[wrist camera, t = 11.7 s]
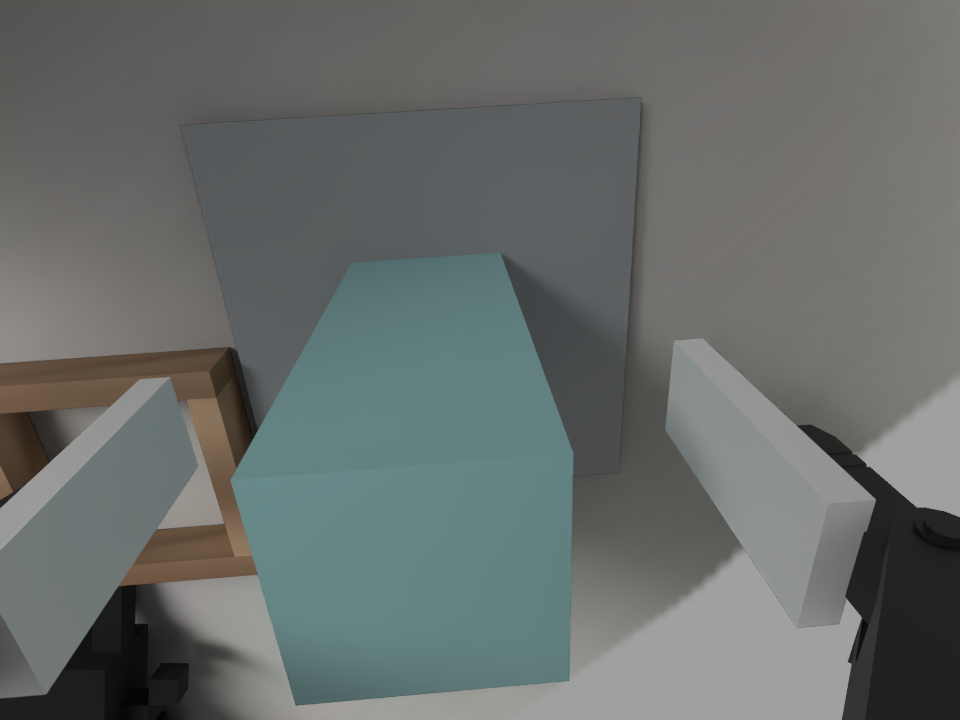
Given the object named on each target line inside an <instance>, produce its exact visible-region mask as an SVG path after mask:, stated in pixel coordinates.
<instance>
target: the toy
mask: <svg viewBox="0 0 960 720" xmlns="http://www.w3.org/2000/svg"><path fill="white" fill-rule="evenodd" d="M135 603H136V585H126V586H118V587H117V589H116V590H115V592H114V593H113V595H112V596H111V598H110V599H109V601H108V602H107V604H106V605H105V607H104V608H103V610H102V611H101V613H100V614H99V616H98V617H97V619H96V620H95V622H94V623H93V625H92V626H91V628H90V629H89V631H88V632H87V634H86V635H85V637H84V638H83V640H82V641H81V643H80V644H79V646H78V647H77V649H76V650H75V652H74V653H73V655H72V656H71V658H70V659H69V661H68V662H67V664H66V665H65V667H64V668H63V670H62V671H61V673H60V674H59V676H58V677H57V679H56V680H55V682H54V683H53V685H52V686H51V688H50V689H49V691H48V692H47V694H45V695H34V696H22V697H11V698H0V720H168V717H167V712H161V706H177V704H178V703H179V701H180V700H181V698H182V697H183V695H184V694H185V692H186V690H187V689H188V671H189V663H161V665H160V666H159V667H158V668H157V670H156V671H155V672H154V674H153V675H152V676H151V677H150V679H149V688H146V682H147V635H148V624H135Z"/></svg>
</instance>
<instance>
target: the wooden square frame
mask: <svg viewBox="0 0 960 720" xmlns="http://www.w3.org/2000/svg"><path fill="white" fill-rule="evenodd" d="M164 377H170V378H171V381H172V385H173V388H174V391H175V394H176V397H177V400H178V401H179V400H187V403H188V406H189V409H190V413H191V416H192V419H193V422H194V426H195V429H196V432H197V435H198V439H199V442H200V445H201V448H202V452H203V455H204V458H205V461H206V465H207V468H208V471H209V474H210V478H211V481H212V484H213V487H214V491H215V494H216V497H217V500H218V504H219V507H220V510H221V513H222V517H223V520H224V523H225V524H223V525H211V526H198V527H186V528H174V529H161V530H155V532H154V533H153V535H152V536H151V538H150V539H149V541H148V542H147V544H146V545H145V547H144V548H143V550H142V551H141V553H140V554H139V556H138V557H137V559H136V560H135V562H134V563H133V565H132V566H131V568H130V569H129V571H128V572H127V574H126V575H125V577H124V578H123V580H122V581H121V583H120V584H119V586H126V585H138V584H150V583H162V582H174V581H186V580H198V579H210V578H222V577H234V576H246V575H258V574H257V570H256V567H255V564H254V560H253V557H252V553H251V550H250V546H249V543H248V539H247V536H246V533H245V529H244V526H243V522H242V519H241V515H240V512H239V508H238V505H237V502H236V498H235V495H234V491H233V488H232V484H231V481H230V480H231V478H232V476H233V474H234V473H235V471H236V469H237V467H238V466H239V464H240V462H241V460H242V458H243V457H244V455H245V453H246V451H247V449H248V448H249V446H250V444H251V442H252V440H253V436H252V432H251V429H250V425H249V421H248V417H247V413H246V409H245V405H244V402H243V398H242V394H241V390H240V386H239V382H238V379H237V375H236V371H235V367H234V363H233V359H232V356H231V352H230V348H229V347H228V348H214V349H200V350H186V351H172V352H158V353H144V354H130V355H116V356H102V357H88V358H74V359H60V360H46V361H32V362H18V363H4V364H0V500H1V499H2V498H4V497H6V496H7V495H9V494H11V493H12V492H14V491H16V490H17V489H19V488H23V487H24V486H25V485H26V484H27V483H28V482H29V481H30V480H31V479H33V478H34V477H35V476H36V475H37V474H38V473H39V472H40V471H41V470H42V469H43V468H44V467H46V466H47V465H48V464H49V461H48V458H47V456H46V454H45V452H44V449H43V447H42V445H41V443H40V441H39V438H38V436H37V434H36V432H35V429H34V427H33V425H32V423H31V420H30V418H29V416H28V414H27V412H30V411H43V410H57V409H70V408H84V407H97V406H111V405H113V404H114V403H115V402H116V401H117V400H118V399H119V398H120V397H121V396H122V395H123V394H124V393H125V392H127V391H128V390H129V389H130V388H131V387H132V386H133V385H134V384H135V383H136V382H137V381H138V380H140V379H150V378H164Z"/></svg>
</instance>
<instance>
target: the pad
mask: <svg viewBox="0 0 960 720" xmlns="http://www.w3.org/2000/svg"><path fill="white" fill-rule="evenodd" d="M640 112H641V98H622V99H605V100H589V101H572V102H555V103H538V104H522V105H505V106H488V107H471V108H455V109H438V110H421V111H404V112H388V113H371V114H354V115H337V116H320V117H304V118H287V119H270V120H253V121H237V122H220V123H203V124H187V125H180V128H181V132H182V136H183V140H184V144H185V147H186V151H187V155H188V159H189V163H190V167H191V171H192V175H193V179H194V183H195V187H196V191H197V195H198V199H199V202H200V206H201V210H202V214H203V218H204V222H205V226H206V230H207V234H208V238H209V242H210V246H211V250H212V254H213V257H214V261H215V265H216V269H217V273H218V277H219V281H220V285H221V289H222V293H223V297H224V301H225V305H226V309H227V312H228V316H229V320H230V324H231V328H232V332H233V336H234V340H235V344H236V348H237V352H238V356H239V360H240V364H241V367H242V371H243V375H244V379H245V383H246V387H247V391H248V395H249V399H250V403H251V407H252V411H253V415H254V419H255V422H256V426H257V430H259V428H260V426H261V424H262V423H263V421H264V419H265V417H266V415H267V414H268V412H269V410H270V408H271V406H272V405H273V403H274V401H275V399H276V397H277V396H278V394H279V392H280V390H281V389H282V387H283V385H284V383H285V381H286V380H287V378H288V376H289V374H290V372H291V371H292V369H293V367H294V365H295V363H296V362H297V360H298V358H299V356H300V355H301V353H302V351H303V349H304V347H305V346H306V344H307V342H308V340H309V338H310V337H311V335H312V333H313V331H314V329H315V328H316V326H317V324H318V322H319V320H320V319H321V317H322V315H323V313H324V312H325V310H326V308H327V306H328V304H329V303H330V301H331V299H332V297H333V295H334V294H335V292H336V290H337V288H338V286H339V285H340V283H341V281H342V279H343V278H344V276H345V274H346V272H347V270H348V269H349V267H350V265H351V263H354V262H369V261H383V260H398V259H413V258H428V257H443V256H457V255H472V254H487V253H501V256H502V259H503V262H504V264H505V267H506V270H507V273H508V275H509V278H510V281H511V284H512V286H513V289H514V292H515V295H516V297H517V300H518V303H519V305H520V308H521V311H522V314H523V316H524V319H525V322H526V325H527V327H528V330H529V333H530V336H531V338H532V341H533V344H534V347H535V349H536V352H537V355H538V358H539V360H540V363H541V366H542V369H543V371H544V374H545V377H546V380H547V382H548V385H549V388H550V391H551V393H552V396H553V399H554V401H555V404H556V407H557V410H558V412H559V415H560V418H561V421H562V423H563V426H564V429H565V432H566V434H567V437H568V440H569V443H570V445H571V448H572V451H573V476H584V475H597V474H610V473H619V465H620V449H621V432H622V415H623V398H624V381H625V364H626V348H627V331H628V314H629V297H630V280H631V264H632V247H633V230H634V213H635V196H636V180H637V163H638V146H639V129H640Z"/></svg>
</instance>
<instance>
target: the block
mask: <svg viewBox="0 0 960 720" xmlns="http://www.w3.org/2000/svg"><path fill="white" fill-rule="evenodd" d="M230 481H231V484H232V488H233V491H234V495H235V498H236V502H237V505H238V508H239V512H240V515H241V519H242V522H243V526H244V529H245V533H246V536H247V539H248V543H249V546H250V550H251V553H252V557H253V560H254V564H255V567H256V570H257V574H258V577H259V581H260V584H261V588H262V591H263V594H264V598H265V601H266V605H267V608H268V612H269V615H270V619H271V622H272V625H273V629H274V632H275V636H276V639H277V643H278V646H279V650H280V653H281V656H282V660H283V663H284V667H285V670H286V674H287V677H288V680H289V684H290V687H291V691H292V694H293V698H294V701H295V705H307V704H318V703H329V702H340V701H351V700H363V699H374V698H385V697H396V696H407V695H418V694H429V693H440V692H451V691H462V690H473V689H484V688H495V687H507V686H518V685H529V684H540V683H551V682H562V681H569V669H570V614H571V559H572V504H573V451H572V448H571V445H570V443H569V440H568V437H567V434H566V432H565V429H564V426H563V423H562V421H561V418H560V415H559V412H558V410H557V407H556V404H555V401H554V399H553V396H552V393H551V391H550V388H549V385H548V382H547V380H546V377H545V374H544V371H543V369H542V366H541V363H540V360H539V358H538V355H537V352H536V349H535V347H534V344H533V341H532V338H531V336H530V333H529V330H528V327H527V325H526V322H525V319H524V316H523V314H522V311H521V308H520V305H519V303H518V300H517V297H516V295H515V292H514V289H513V286H512V284H511V281H510V278H509V275H508V273H507V270H506V267H505V264H504V262H503V259H502V256H501V253H487V254H472V255H457V256H443V257H428V258H413V259H398V260H383V261H369V262H354V263H351V265H350V267H349V269H348V270H347V272H346V274H345V276H344V278H343V279H342V281H341V283H340V285H339V286H338V288H337V290H336V292H335V294H334V295H333V297H332V299H331V301H330V303H329V304H328V306H327V308H326V310H325V312H324V313H323V315H322V317H321V319H320V320H319V322H318V324H317V326H316V328H315V329H314V331H313V333H312V335H311V337H310V338H309V340H308V342H307V344H306V346H305V347H304V349H303V351H302V353H301V355H300V356H299V358H298V360H297V362H296V363H295V365H294V367H293V369H292V371H291V372H290V374H289V376H288V378H287V380H286V381H285V383H284V385H283V387H282V389H281V390H280V392H279V394H278V396H277V397H276V399H275V401H274V403H273V405H272V406H271V408H270V410H269V412H268V414H267V415H266V417H265V419H264V421H263V423H262V424H261V426H260V428H259V430H258V432H257V433H256V435H255V437H254V439H253V440H252V442H251V444H250V446H249V448H248V449H247V451H246V453H245V455H244V457H243V458H242V460H241V462H240V464H239V466H238V467H237V469H236V471H235V473H234V474H233V476H232V478H231V480H230Z"/></svg>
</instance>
